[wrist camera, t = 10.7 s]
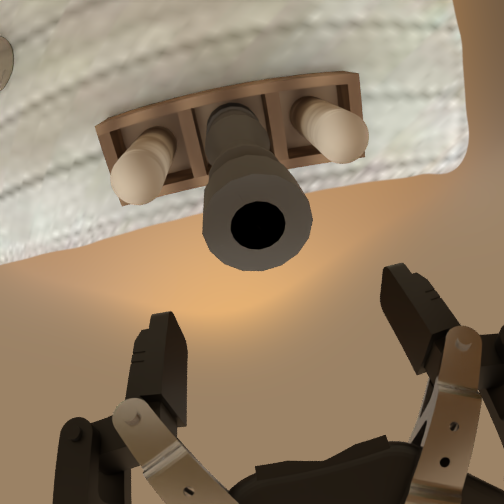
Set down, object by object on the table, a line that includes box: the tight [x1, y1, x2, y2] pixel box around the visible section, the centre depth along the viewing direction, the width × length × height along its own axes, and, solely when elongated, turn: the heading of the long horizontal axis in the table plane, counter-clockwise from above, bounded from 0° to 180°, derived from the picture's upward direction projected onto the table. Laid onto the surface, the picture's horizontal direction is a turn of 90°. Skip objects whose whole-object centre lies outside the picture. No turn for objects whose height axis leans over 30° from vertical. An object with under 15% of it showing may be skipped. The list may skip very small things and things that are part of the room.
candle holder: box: [202, 102, 313, 271], centre depth 27 cm, size 6×6×25 cm
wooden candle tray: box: [95, 71, 369, 206], centre depth 33 cm, size 30×10×13 cm, turn 99°
